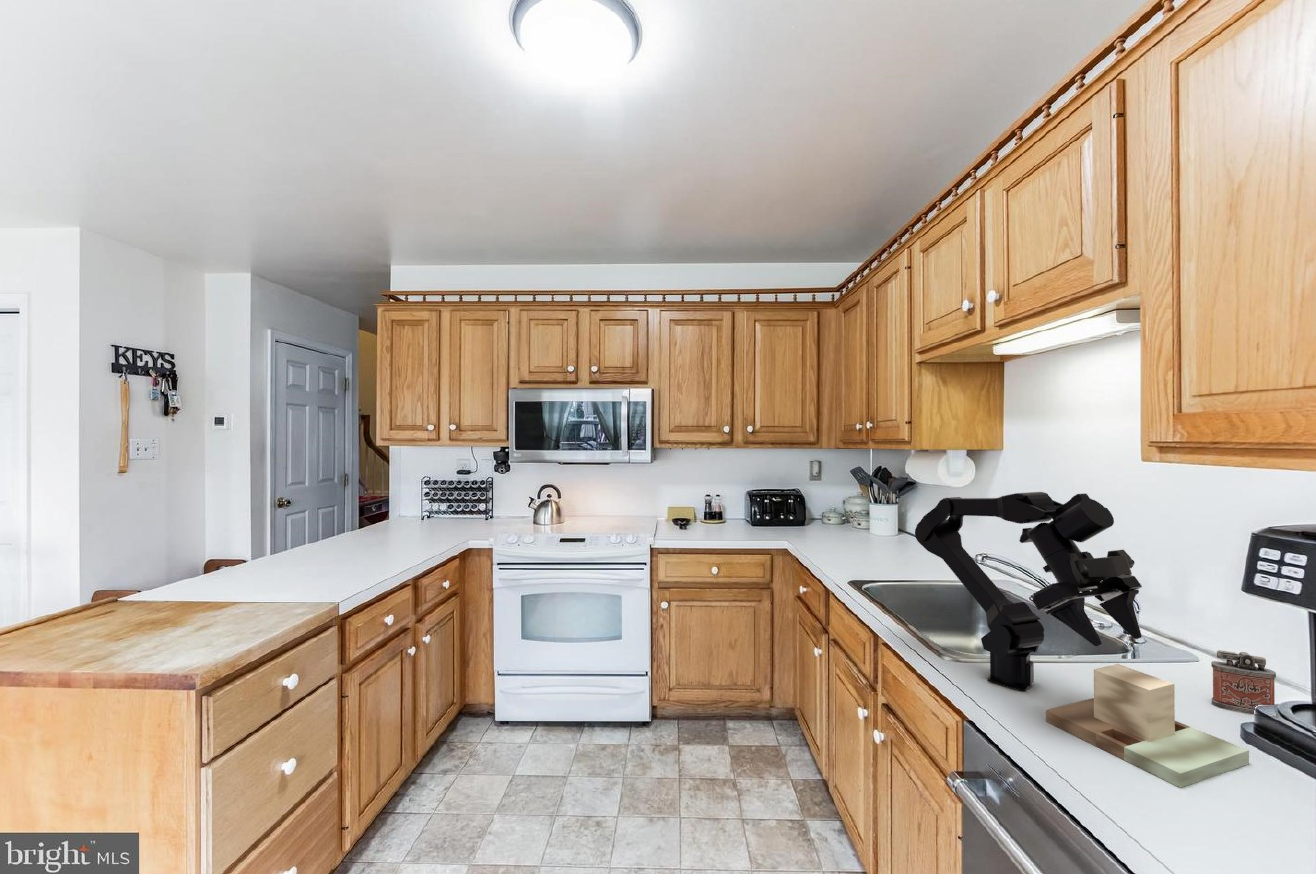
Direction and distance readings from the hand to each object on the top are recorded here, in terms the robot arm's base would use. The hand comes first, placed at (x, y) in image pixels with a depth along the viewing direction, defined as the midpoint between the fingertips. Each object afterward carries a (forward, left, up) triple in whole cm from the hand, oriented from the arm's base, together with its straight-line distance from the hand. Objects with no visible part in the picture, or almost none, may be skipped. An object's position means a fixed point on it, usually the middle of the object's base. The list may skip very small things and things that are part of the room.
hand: (1119, 641), depth 91 cm
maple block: (+2, 0, -13) cm, 13 cm away
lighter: (+14, +25, -15) cm, 33 cm away
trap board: (+2, 0, -15) cm, 15 cm away
